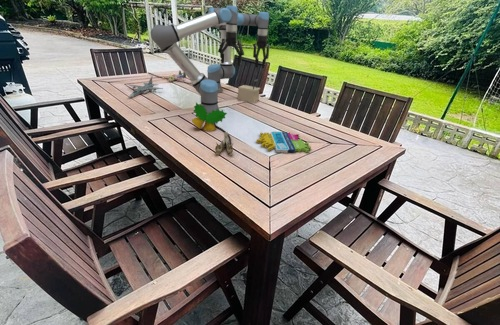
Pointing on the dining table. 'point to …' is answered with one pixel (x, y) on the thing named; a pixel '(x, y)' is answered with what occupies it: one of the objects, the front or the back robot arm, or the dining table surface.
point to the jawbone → (224, 145)
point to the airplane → (143, 88)
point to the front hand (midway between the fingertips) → (230, 64)
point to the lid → (250, 87)
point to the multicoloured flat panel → (283, 142)
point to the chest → (248, 95)
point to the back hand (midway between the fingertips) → (259, 67)
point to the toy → (175, 77)
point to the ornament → (207, 117)
